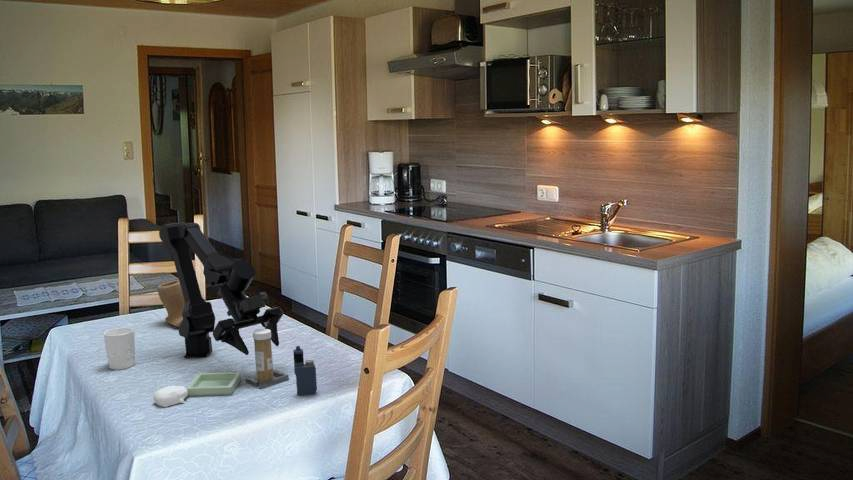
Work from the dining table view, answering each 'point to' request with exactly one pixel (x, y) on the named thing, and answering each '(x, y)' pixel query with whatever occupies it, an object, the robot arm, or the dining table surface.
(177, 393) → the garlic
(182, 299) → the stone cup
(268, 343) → the sprinkles bottle
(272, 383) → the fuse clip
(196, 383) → the tray
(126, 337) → the white cup
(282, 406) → the dining table surface
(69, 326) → the dining table surface
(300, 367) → the vaping device
